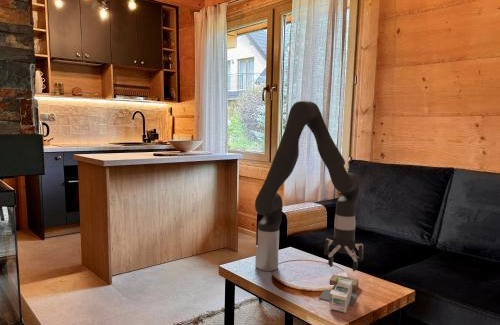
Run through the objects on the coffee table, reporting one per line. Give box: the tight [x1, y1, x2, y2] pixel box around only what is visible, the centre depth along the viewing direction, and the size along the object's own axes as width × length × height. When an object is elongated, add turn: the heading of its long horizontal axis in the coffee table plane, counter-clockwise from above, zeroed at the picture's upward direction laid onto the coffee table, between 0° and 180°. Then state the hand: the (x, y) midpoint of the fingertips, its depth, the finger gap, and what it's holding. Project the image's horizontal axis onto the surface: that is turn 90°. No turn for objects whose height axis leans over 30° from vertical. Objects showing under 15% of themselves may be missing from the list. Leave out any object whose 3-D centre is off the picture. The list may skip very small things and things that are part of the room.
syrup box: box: [328, 278, 352, 314], centre depth 130 cm, size 6×6×14 cm
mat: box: [318, 289, 359, 307], centre depth 136 cm, size 12×11×1 cm
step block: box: [329, 273, 360, 293], centre depth 144 cm, size 10×6×3 cm, turn 64°
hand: (342, 268), depth 139 cm, fingers open, 8 cm apart
